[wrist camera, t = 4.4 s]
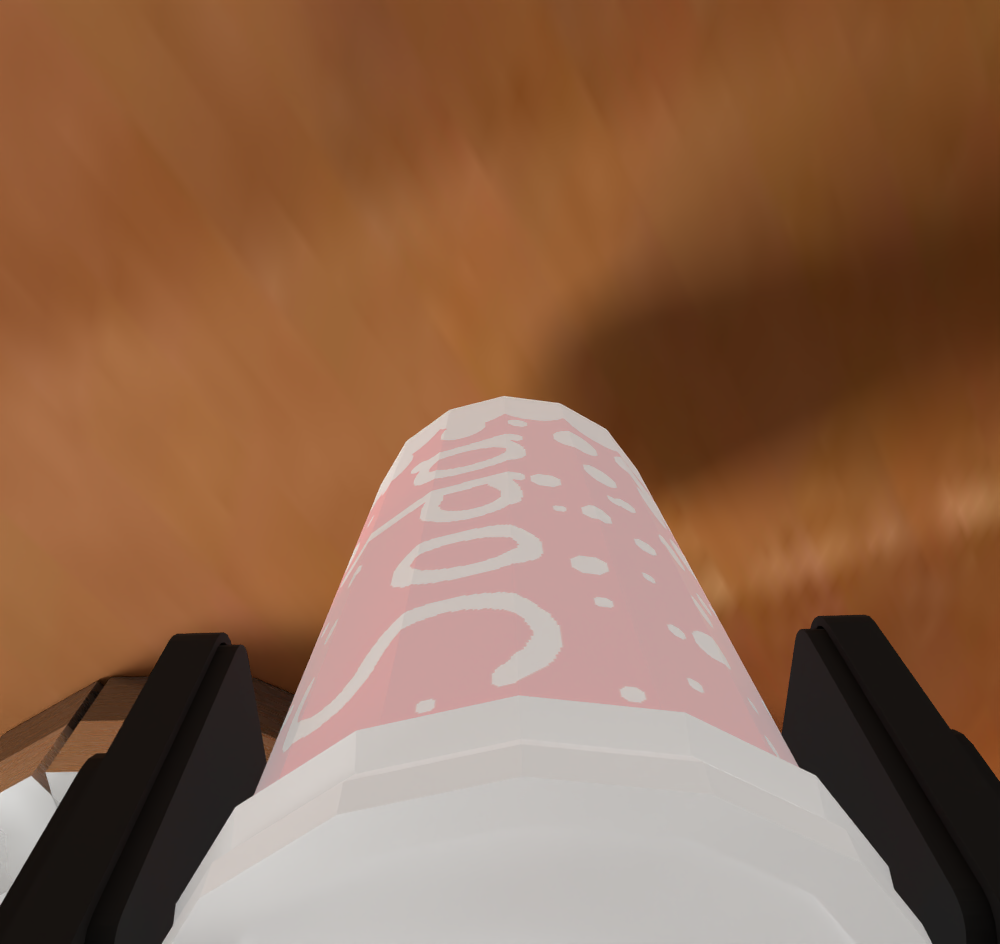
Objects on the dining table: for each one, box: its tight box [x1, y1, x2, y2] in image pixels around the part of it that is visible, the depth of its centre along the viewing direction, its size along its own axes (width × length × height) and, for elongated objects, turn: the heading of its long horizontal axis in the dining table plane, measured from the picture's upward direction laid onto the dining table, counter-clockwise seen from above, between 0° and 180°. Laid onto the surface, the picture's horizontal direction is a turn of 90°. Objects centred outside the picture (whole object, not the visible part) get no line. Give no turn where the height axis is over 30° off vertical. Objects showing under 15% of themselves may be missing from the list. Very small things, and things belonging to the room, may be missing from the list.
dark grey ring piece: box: [0, 677, 295, 762], centre depth 20 cm, size 12×20×3 cm, turn 91°
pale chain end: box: [0, 720, 277, 905], centre depth 20 cm, size 12×20×3 cm, turn 91°
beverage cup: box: [162, 396, 932, 944], centre depth 8 cm, size 6×6×14 cm
